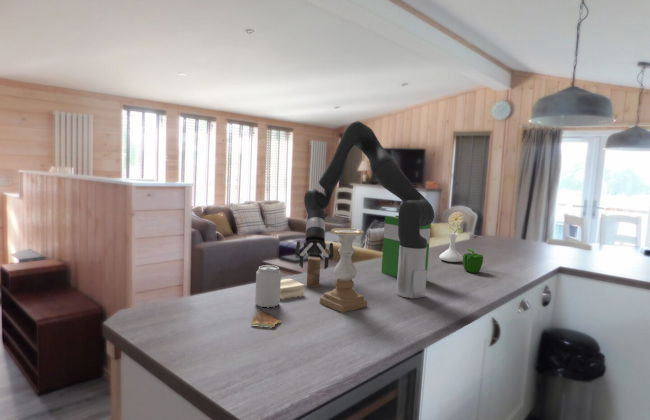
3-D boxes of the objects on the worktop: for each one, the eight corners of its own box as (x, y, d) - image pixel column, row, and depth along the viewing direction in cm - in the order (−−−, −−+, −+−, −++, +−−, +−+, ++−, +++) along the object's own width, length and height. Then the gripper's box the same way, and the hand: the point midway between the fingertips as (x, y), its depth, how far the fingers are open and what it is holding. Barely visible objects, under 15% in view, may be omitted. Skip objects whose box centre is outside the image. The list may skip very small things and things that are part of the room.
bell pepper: (486, 273, 184) (488, 251, 183) (471, 274, 181) (473, 251, 180) (473, 269, 192) (474, 247, 191) (458, 269, 189) (460, 247, 188)
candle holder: (318, 302, 133) (322, 228, 131) (344, 297, 140) (348, 226, 138) (342, 313, 125) (346, 234, 122) (367, 306, 132) (372, 231, 129)
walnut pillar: (319, 283, 155) (320, 256, 154) (319, 286, 151) (320, 259, 150) (306, 282, 155) (308, 256, 154) (306, 286, 151) (307, 259, 150)
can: (256, 309, 124) (257, 270, 123) (253, 301, 131) (255, 264, 130) (281, 308, 126) (283, 269, 125) (277, 300, 133) (279, 263, 132)
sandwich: (260, 314, 122) (260, 308, 122) (286, 316, 121) (286, 310, 121) (249, 328, 111) (249, 321, 111) (277, 331, 110) (278, 324, 110)
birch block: (304, 296, 140) (304, 284, 139) (280, 300, 134) (281, 288, 134) (289, 289, 147) (290, 278, 147) (267, 293, 142) (267, 281, 141)
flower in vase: (434, 258, 210) (438, 209, 207) (454, 258, 213) (458, 209, 210) (449, 265, 197) (453, 212, 195) (470, 264, 201) (474, 212, 198)
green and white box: (381, 272, 176) (385, 216, 174) (393, 270, 181) (397, 215, 178) (414, 282, 163) (419, 221, 160) (426, 280, 167) (431, 221, 165)
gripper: (297, 224, 160) (294, 261, 150) (334, 226, 161) (333, 262, 150) (297, 236, 166) (294, 271, 156) (333, 237, 166) (332, 273, 156)
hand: (313, 267), depth 153 cm, fingers open, 8 cm apart
